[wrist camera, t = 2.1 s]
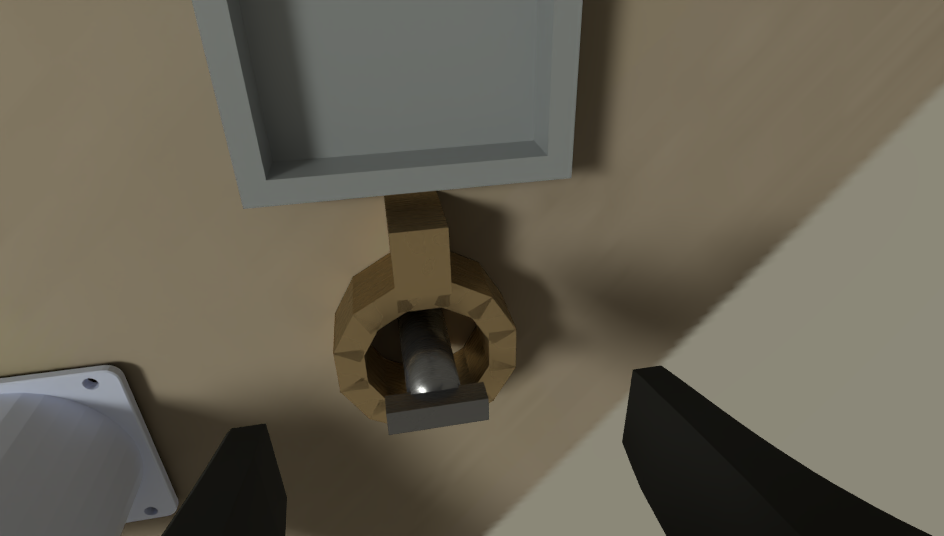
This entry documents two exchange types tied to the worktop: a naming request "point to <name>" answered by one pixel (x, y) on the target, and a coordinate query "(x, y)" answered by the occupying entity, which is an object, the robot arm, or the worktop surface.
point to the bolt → (431, 379)
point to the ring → (419, 307)
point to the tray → (391, 94)
